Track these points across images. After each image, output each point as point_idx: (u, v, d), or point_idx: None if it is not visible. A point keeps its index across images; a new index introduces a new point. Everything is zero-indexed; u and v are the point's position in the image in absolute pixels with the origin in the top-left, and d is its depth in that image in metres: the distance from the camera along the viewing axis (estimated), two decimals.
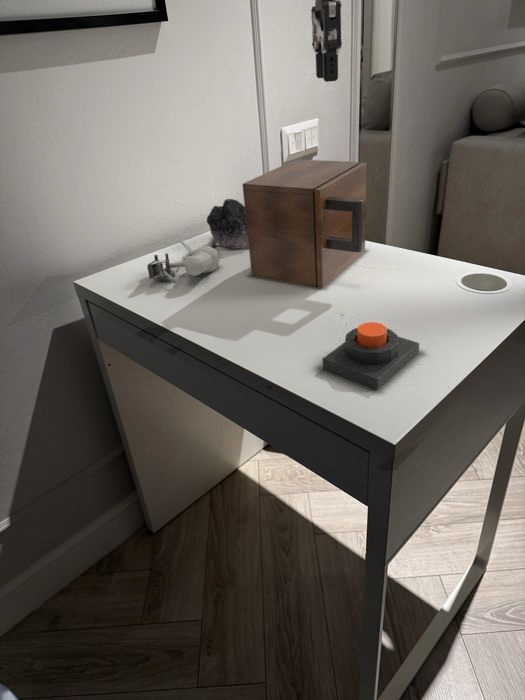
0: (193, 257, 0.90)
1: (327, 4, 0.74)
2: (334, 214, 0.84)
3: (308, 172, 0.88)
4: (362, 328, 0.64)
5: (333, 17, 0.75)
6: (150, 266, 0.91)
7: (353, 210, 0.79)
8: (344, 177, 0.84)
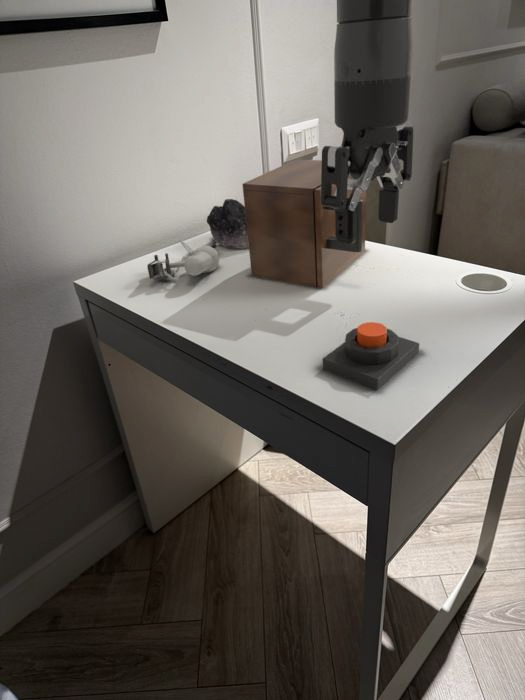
0: (193, 257, 0.90)
1: (325, 151, 0.51)
2: (334, 214, 0.84)
3: (308, 172, 0.88)
4: (362, 328, 0.64)
5: (333, 169, 0.52)
6: (150, 266, 0.91)
7: None
8: None
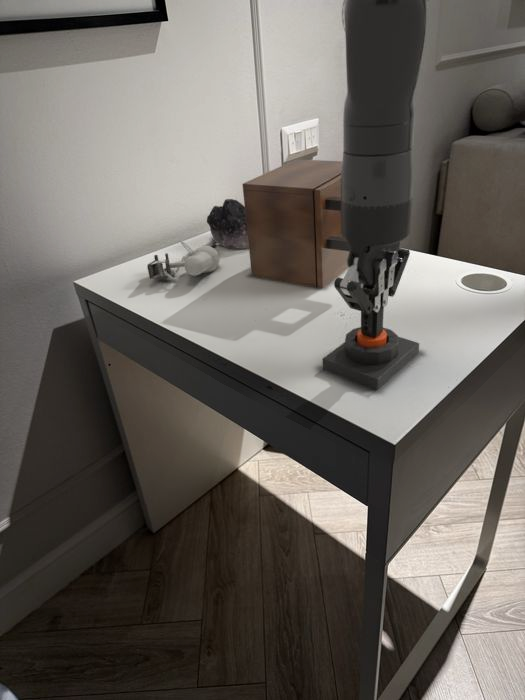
0: (193, 257, 0.90)
1: (337, 287, 0.57)
2: (334, 214, 0.84)
3: (308, 172, 0.88)
4: None
5: None
6: (150, 266, 0.91)
7: None
8: None
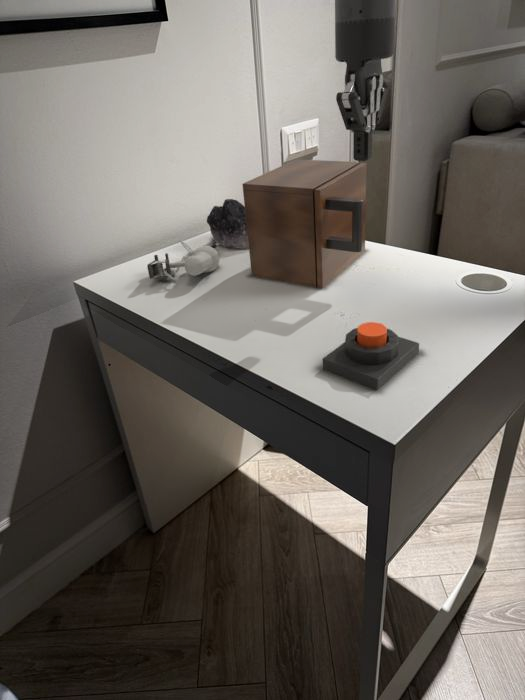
0: (193, 257, 0.90)
1: (339, 100, 0.66)
2: (334, 214, 0.84)
3: (308, 172, 0.88)
4: (362, 328, 0.64)
5: (349, 108, 0.67)
6: (150, 266, 0.91)
7: (353, 210, 0.79)
8: (344, 177, 0.84)
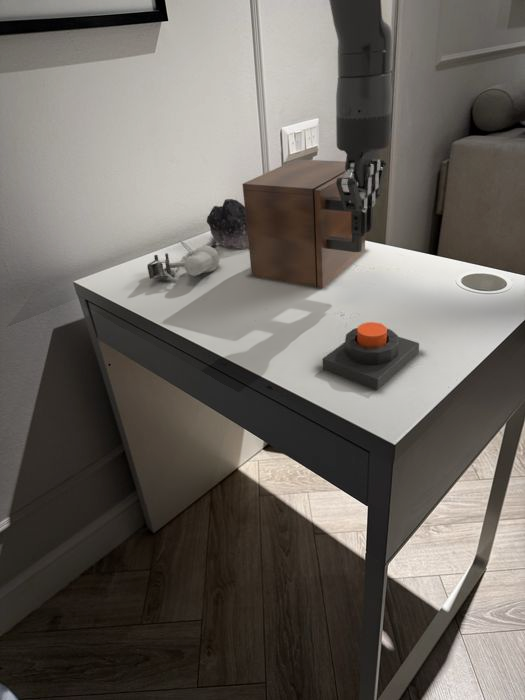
0: (193, 257, 0.90)
1: (339, 184, 0.72)
2: (334, 214, 0.84)
3: (308, 172, 0.88)
4: (362, 328, 0.64)
5: (348, 192, 0.73)
6: (150, 266, 0.91)
7: None
8: None
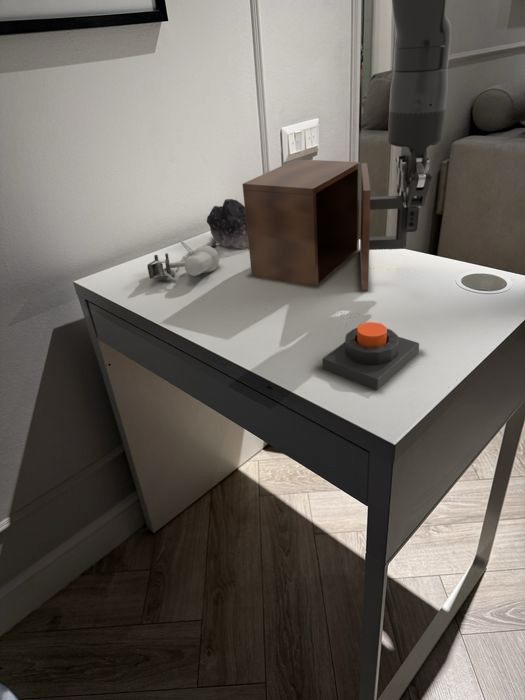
0: (193, 257, 0.90)
1: (416, 180, 0.70)
2: None
3: (308, 172, 0.88)
4: (362, 328, 0.64)
5: (420, 187, 0.72)
6: (150, 266, 0.91)
7: (401, 207, 0.78)
8: (368, 177, 0.83)
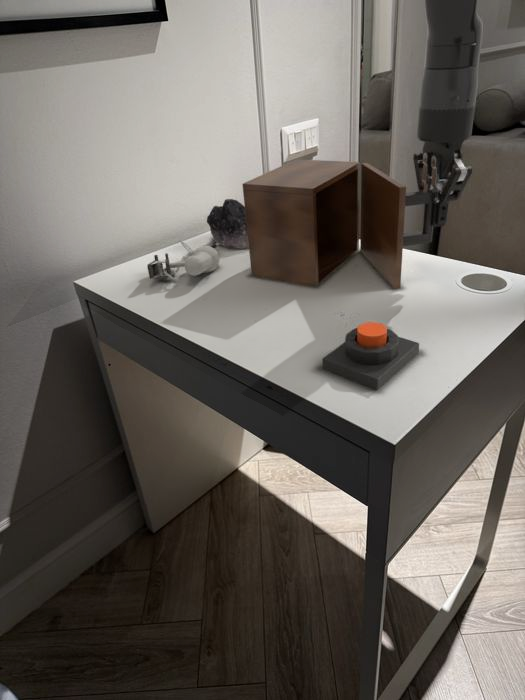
0: (193, 257, 0.90)
1: (459, 174, 0.72)
2: None
3: (308, 172, 0.88)
4: (362, 328, 0.64)
5: (460, 181, 0.73)
6: (150, 266, 0.91)
7: (430, 201, 0.79)
8: None
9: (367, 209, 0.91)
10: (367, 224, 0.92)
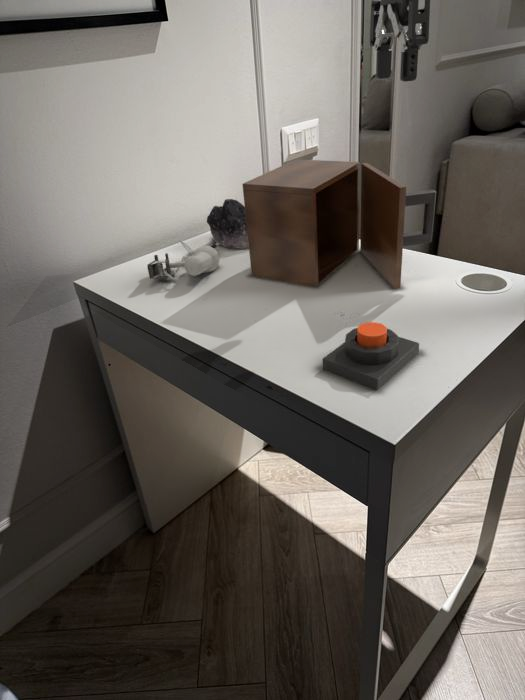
0: (193, 257, 0.90)
1: None
2: None
3: (308, 172, 0.88)
4: (362, 328, 0.64)
5: (421, 10, 0.68)
6: (150, 266, 0.91)
7: (430, 201, 0.79)
8: None
9: (367, 209, 0.91)
10: (367, 224, 0.92)
